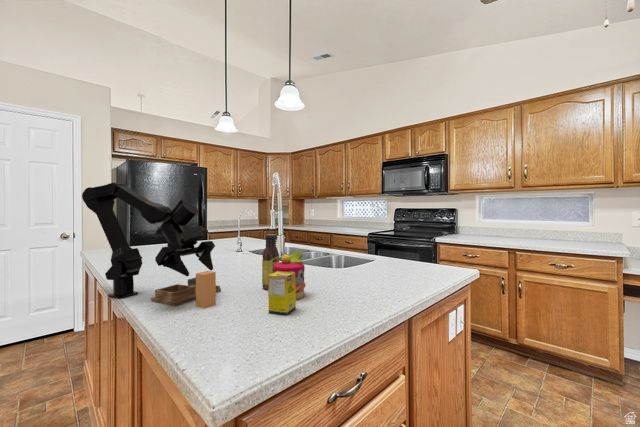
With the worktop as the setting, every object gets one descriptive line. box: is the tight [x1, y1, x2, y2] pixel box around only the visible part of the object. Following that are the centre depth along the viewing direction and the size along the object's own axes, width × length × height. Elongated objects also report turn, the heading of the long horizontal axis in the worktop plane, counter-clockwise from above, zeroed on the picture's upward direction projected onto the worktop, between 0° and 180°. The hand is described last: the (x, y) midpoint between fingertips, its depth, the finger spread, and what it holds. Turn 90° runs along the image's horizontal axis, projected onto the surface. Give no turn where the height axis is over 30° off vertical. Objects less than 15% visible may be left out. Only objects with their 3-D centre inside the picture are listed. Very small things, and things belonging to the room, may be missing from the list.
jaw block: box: [195, 270, 217, 309], centre depth 93 cm, size 4×4×10 cm
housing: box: [150, 277, 222, 307], centre depth 103 cm, size 12×18×4 cm, turn 153°
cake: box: [274, 250, 306, 301], centre depth 101 cm, size 10×11×15 cm
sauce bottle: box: [261, 233, 280, 290], centre depth 112 cm, size 7×6×20 cm
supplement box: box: [267, 271, 297, 316], centre depth 87 cm, size 6×6×11 cm
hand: (200, 272), depth 94 cm, fingers open, 9 cm apart
